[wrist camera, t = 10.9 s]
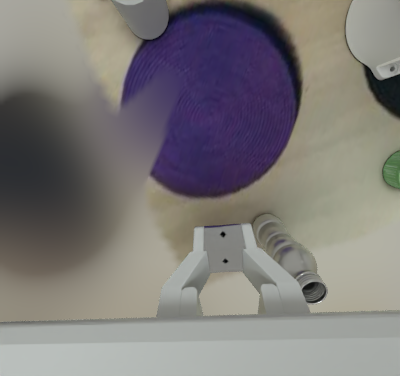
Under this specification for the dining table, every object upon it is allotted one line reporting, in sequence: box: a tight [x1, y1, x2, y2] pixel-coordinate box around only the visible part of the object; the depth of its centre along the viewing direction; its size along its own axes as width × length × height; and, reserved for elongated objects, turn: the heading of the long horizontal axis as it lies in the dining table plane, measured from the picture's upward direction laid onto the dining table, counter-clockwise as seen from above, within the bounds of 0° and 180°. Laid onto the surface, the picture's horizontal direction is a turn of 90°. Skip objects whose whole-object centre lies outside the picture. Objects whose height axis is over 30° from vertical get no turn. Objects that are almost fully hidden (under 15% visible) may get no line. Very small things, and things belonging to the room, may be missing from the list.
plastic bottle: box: [253, 214, 328, 304], centre depth 35 cm, size 6×7×20 cm
